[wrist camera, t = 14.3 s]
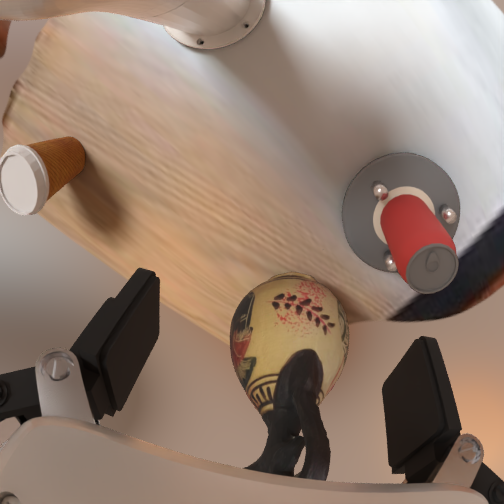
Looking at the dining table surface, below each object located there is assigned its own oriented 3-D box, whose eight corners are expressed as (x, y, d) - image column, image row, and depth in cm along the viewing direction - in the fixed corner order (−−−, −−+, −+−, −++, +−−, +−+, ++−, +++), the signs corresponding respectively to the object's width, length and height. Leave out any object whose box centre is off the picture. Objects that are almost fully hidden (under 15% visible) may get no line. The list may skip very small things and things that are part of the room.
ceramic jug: (303, 348, 53) (285, 522, 27) (224, 304, 51) (160, 484, 25) (374, 283, 44) (406, 488, 19) (287, 224, 42) (246, 447, 17)
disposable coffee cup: (88, 121, 39) (30, 142, 28) (99, 183, 43) (48, 218, 33) (44, 131, 40) (-12, 153, 30) (55, 187, 45) (5, 219, 35)
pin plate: (363, 135, 35) (365, 137, 33) (472, 177, 34) (477, 181, 33) (326, 250, 43) (327, 256, 42) (427, 277, 42) (430, 283, 41)
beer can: (425, 188, 35) (464, 233, 24) (428, 235, 38) (461, 291, 27) (375, 196, 36) (399, 246, 26) (381, 244, 39) (401, 304, 29)
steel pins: (373, 178, 36) (377, 185, 33) (451, 205, 35) (458, 213, 33) (347, 250, 41) (349, 260, 39) (421, 270, 40) (426, 280, 38)
